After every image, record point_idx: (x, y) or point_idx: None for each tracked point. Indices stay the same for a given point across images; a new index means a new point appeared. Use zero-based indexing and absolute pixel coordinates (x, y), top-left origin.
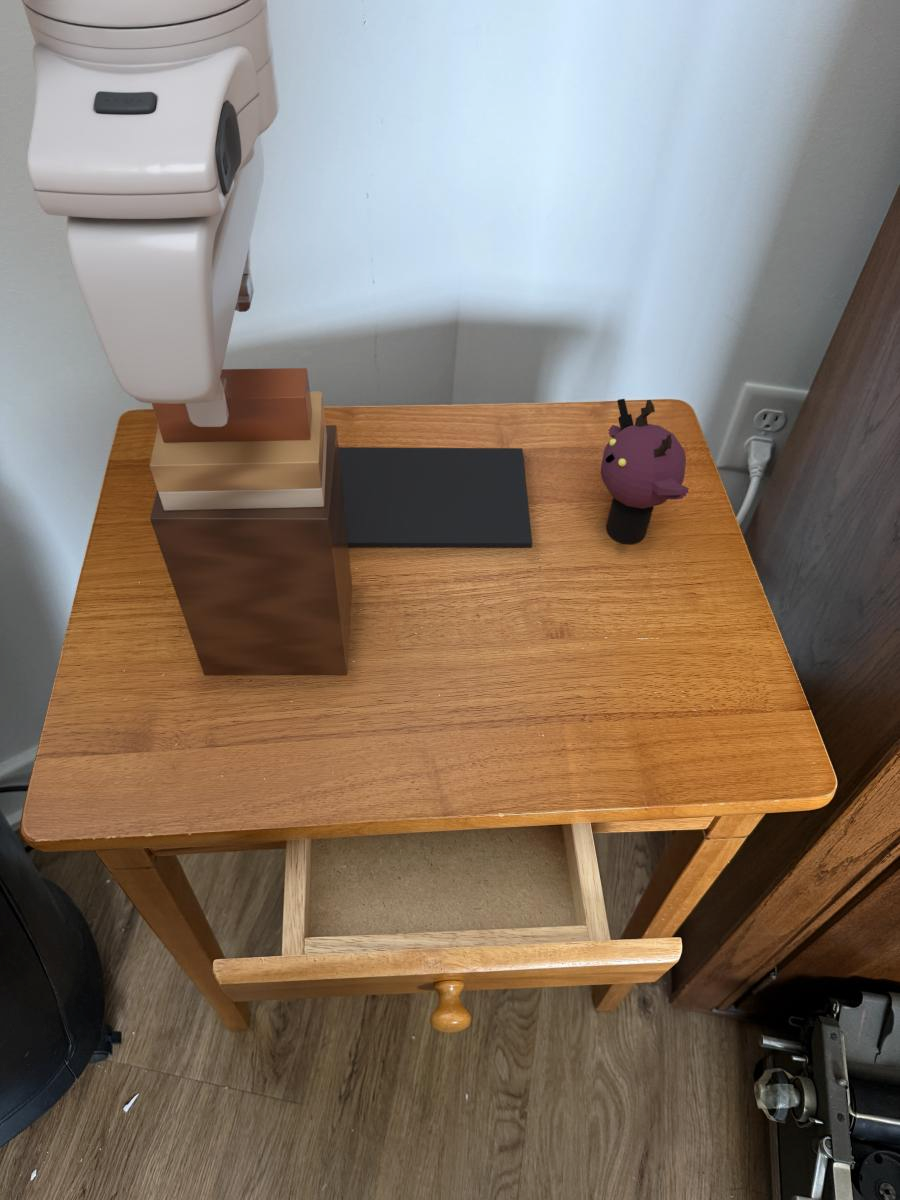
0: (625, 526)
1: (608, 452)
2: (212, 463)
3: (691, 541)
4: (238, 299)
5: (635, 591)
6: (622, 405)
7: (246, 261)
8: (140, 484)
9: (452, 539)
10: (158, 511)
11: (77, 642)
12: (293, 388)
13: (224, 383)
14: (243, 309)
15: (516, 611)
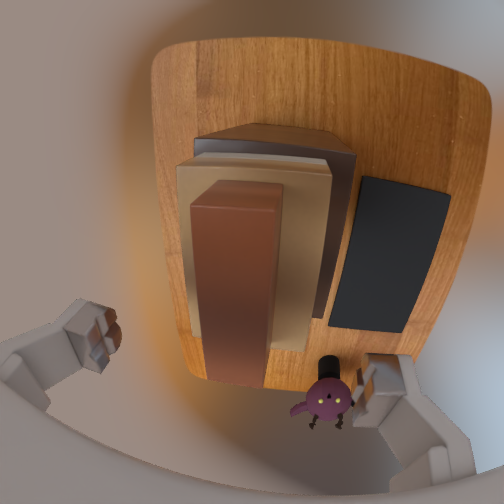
0: (320, 368)
1: (333, 396)
2: (181, 242)
3: (314, 380)
4: (360, 388)
5: (288, 356)
6: None
7: (389, 441)
8: (435, 82)
9: (341, 288)
10: (203, 146)
11: (285, 39)
12: (222, 374)
13: (92, 369)
14: (354, 378)
15: None
